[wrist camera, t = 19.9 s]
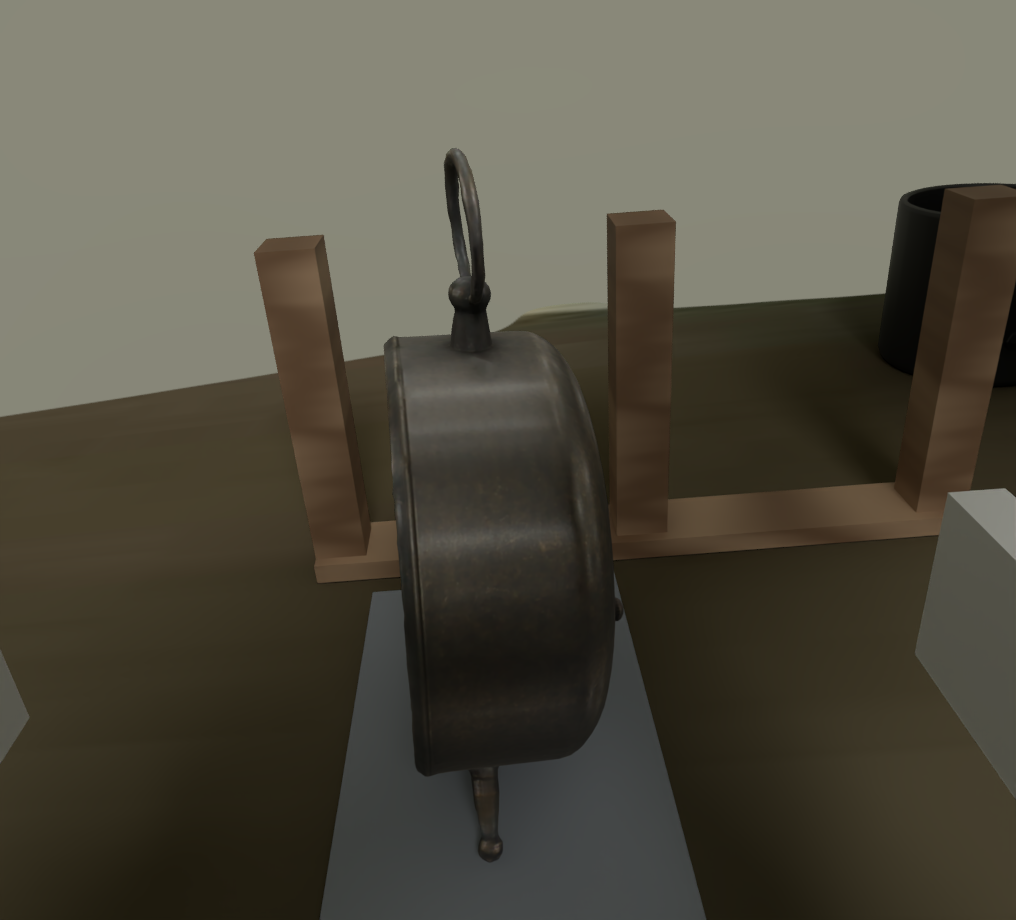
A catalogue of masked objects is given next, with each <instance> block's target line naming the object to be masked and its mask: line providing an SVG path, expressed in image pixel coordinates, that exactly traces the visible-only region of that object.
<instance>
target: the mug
mask: <svg viewBox="0 0 1016 920" xmlns="http://www.w3.org/2000/svg"><path fill="white" fill-rule="evenodd" d="M989 185H1004V186H1007V187H1010V188H1013V189H1016V184H998V183H995V184H994V183H983V184H982V183H977V184H976V183H975V184H954V185H942V186H934V187H928V188H923V189H918V190H915V191H911V192H909V193H907V194H904V195H903V196H902V197H901V199H900V201H899V206H898V213H897V219H896V226H895V233H894V240H893V246H892V254H891V260H890V267H889V274H888V280H887V287H886V294H885V301H884V308H883V314H882V321H881V328H880V335H879V342H878V347H879V350H880V353H881V355H882V357H883V358H884V359H885V360H886V361H887V362H888V363H890V364H891V365H893V366H895V367H896V368H899V369H901V370H903V371H905V372H908V373H911V374H914V368H915V362H916V356H917V350H918V344H919V338H920V332H921V326H922V321H923V315H924V309H925V303H926V297H927V291H928V285H929V279H930V273H931V268H932V262H933V256H934V250H935V244H936V238H937V232H938V226H939V221H940V215H941V209H942V203H943V197H944V191H945V189H949V188H962V187H976V186H989ZM1009 385H1016V282H1015V287H1014V291H1013V296H1012V300H1011V305H1010V310H1009V314H1008V319H1007V323H1006V328H1005V332H1004V337H1003V342H1002V346H1001V351H1000V355H999V360H998V365H997V369H996V374H995V378H994V383H993V386H1009Z"/></svg>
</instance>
